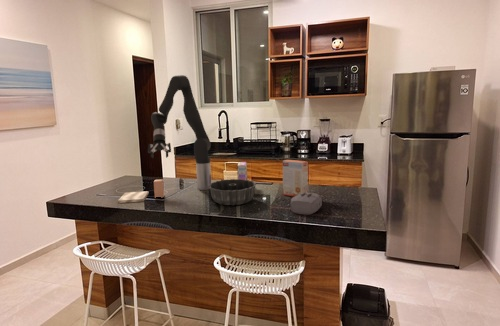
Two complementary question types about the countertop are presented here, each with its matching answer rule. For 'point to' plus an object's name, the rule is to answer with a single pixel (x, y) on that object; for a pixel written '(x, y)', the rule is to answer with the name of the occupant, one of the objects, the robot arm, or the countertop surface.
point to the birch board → (133, 197)
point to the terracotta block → (159, 188)
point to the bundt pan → (232, 191)
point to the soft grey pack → (306, 203)
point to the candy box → (242, 170)
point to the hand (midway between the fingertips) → (159, 157)
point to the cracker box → (295, 177)
